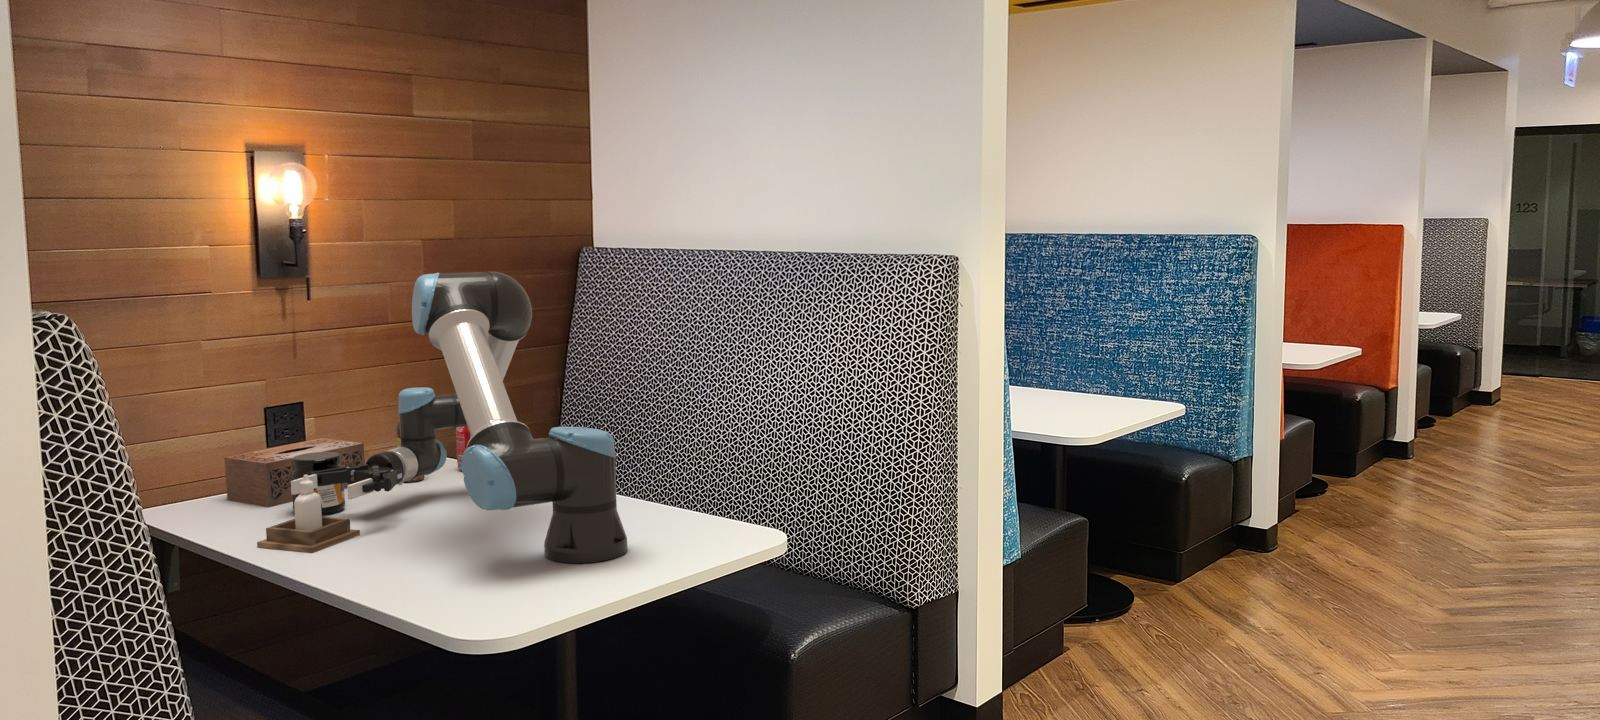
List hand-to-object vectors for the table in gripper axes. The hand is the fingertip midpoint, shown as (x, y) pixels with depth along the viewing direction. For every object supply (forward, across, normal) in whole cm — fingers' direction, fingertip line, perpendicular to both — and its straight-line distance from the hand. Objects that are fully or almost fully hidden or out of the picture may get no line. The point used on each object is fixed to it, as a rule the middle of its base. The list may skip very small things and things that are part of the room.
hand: (320, 490), depth 230 cm
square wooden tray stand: (+4, 0, -9) cm, 10 cm away
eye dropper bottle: (+4, 0, -8) cm, 9 cm away
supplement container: (-16, +15, -9) cm, 24 cm away
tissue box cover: (-30, +32, -10) cm, 45 cm away
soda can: (-61, +7, -9) cm, 63 cm away
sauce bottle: (-47, +15, -9) cm, 50 cm away
